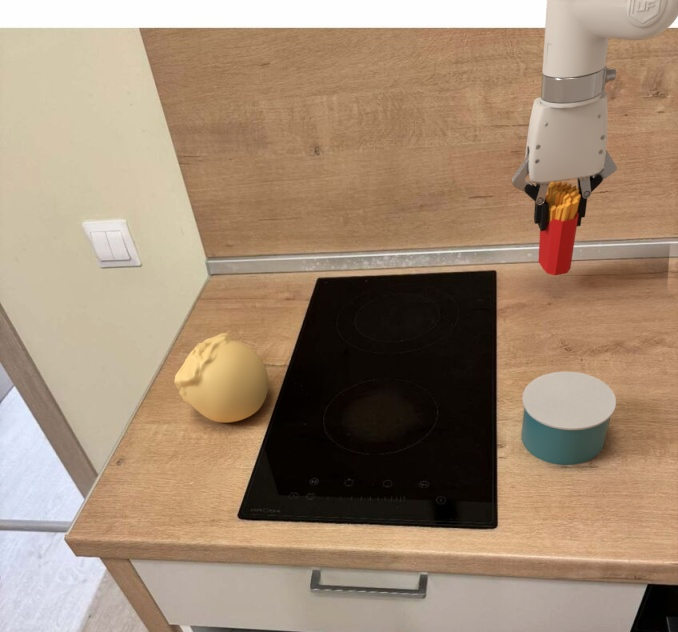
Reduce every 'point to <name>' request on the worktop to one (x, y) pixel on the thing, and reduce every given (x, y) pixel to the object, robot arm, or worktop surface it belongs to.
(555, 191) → the french fries
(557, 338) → the worktop surface
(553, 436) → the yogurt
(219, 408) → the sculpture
